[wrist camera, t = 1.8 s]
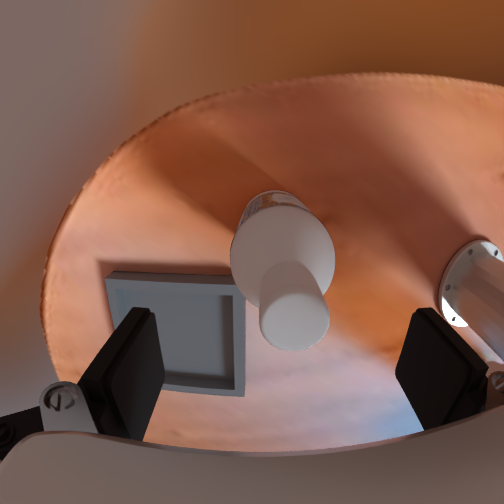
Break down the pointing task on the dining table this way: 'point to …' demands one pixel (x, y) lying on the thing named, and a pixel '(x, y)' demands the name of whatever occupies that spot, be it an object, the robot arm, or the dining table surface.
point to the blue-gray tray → (189, 326)
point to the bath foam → (284, 268)
